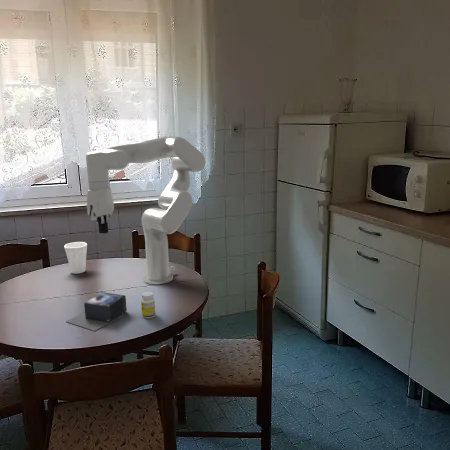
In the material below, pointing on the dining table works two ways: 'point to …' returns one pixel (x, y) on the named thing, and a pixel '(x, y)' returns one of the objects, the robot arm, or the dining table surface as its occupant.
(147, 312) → the supplement bottle
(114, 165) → the robot arm
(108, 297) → the small box
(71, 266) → the cup
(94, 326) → the mat
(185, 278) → the dining table surface
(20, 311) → the dining table surface
